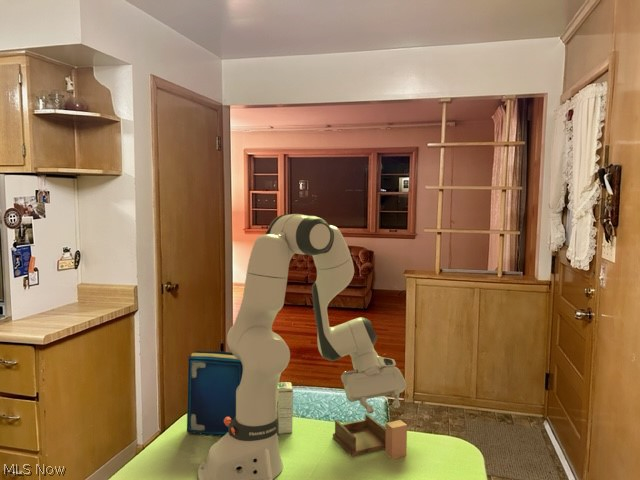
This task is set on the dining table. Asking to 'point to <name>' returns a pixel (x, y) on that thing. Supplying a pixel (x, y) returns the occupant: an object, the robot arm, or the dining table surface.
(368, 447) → the walnut slot rack
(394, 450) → the terracotta block
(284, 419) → the syrup box
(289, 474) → the dining table surface
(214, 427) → the book
